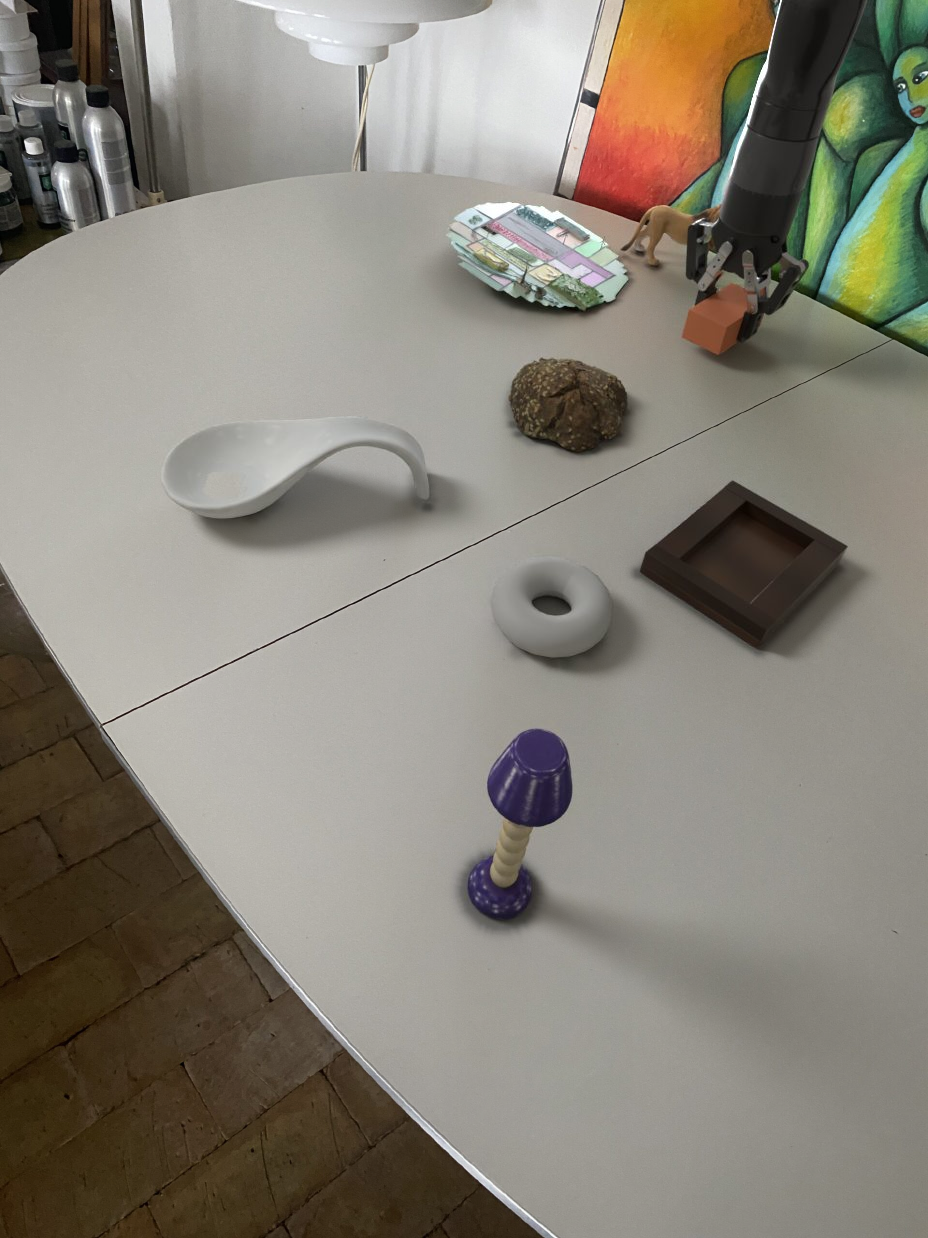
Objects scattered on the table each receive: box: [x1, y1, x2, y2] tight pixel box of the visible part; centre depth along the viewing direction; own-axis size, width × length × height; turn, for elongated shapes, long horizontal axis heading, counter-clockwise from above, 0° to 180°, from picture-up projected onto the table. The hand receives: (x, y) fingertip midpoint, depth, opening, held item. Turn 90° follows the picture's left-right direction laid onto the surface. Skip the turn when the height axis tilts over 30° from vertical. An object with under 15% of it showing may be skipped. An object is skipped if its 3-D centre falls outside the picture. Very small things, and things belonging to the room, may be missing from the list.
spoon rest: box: [160, 415, 430, 519], centre depth 78 cm, size 24×12×7 cm, turn 99°
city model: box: [444, 201, 630, 312], centre depth 109 cm, size 25×23×6 cm
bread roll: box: [508, 357, 629, 453], centre depth 89 cm, size 13×12×5 cm
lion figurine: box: [619, 203, 722, 267], centre depth 111 cm, size 15×5×9 cm, turn 79°
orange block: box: [681, 282, 765, 356], centre depth 99 cm, size 9×5×4 cm, turn 137°
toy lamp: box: [467, 728, 574, 920], centre depth 51 cm, size 5×5×17 cm
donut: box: [490, 555, 614, 659], centre depth 71 cm, size 10×4×10 cm
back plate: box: [639, 479, 848, 650], centre depth 77 cm, size 14×12×2 cm
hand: (722, 328), depth 100 cm, fingers closed on orange block, 5 cm apart
